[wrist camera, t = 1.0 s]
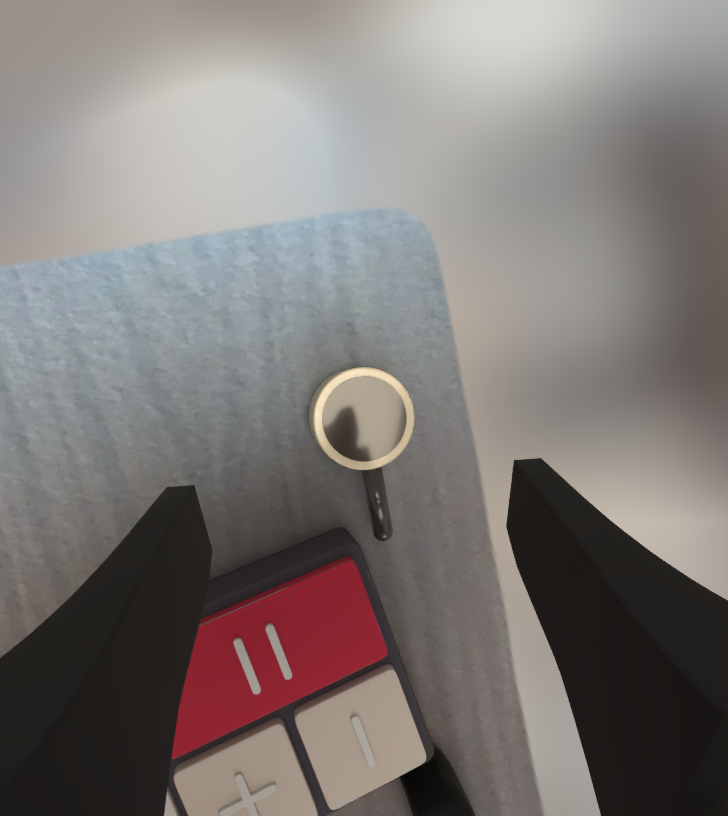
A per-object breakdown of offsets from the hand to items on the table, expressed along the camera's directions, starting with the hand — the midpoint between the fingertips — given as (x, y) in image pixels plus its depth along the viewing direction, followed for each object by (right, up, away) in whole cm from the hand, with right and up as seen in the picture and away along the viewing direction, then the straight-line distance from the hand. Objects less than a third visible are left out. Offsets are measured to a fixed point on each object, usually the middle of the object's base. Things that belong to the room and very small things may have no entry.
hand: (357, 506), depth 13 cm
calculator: (-6, -11, +14) cm, 19 cm away
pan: (0, 0, +15) cm, 15 cm away
